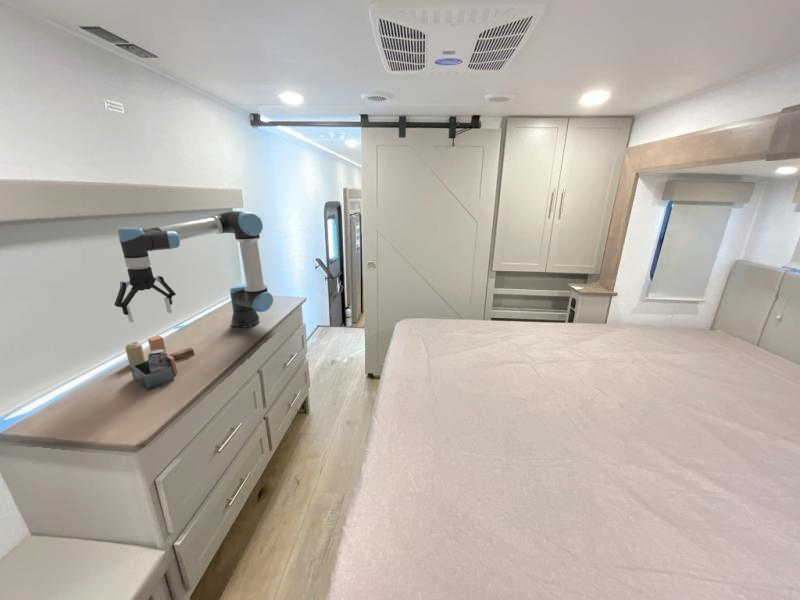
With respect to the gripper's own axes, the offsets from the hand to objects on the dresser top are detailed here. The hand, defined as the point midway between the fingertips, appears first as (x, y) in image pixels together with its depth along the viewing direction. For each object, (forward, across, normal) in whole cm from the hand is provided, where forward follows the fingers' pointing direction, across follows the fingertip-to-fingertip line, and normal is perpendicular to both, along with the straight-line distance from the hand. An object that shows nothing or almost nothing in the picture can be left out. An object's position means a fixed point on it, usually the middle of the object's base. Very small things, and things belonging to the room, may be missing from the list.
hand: (151, 316), depth 131 cm
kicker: (+22, +1, +6) cm, 23 cm away
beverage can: (+23, +5, +12) cm, 26 cm away
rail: (+23, -4, 0) cm, 23 cm away
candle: (+23, +6, -10) cm, 25 cm away
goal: (+22, +7, +11) cm, 26 cm away
